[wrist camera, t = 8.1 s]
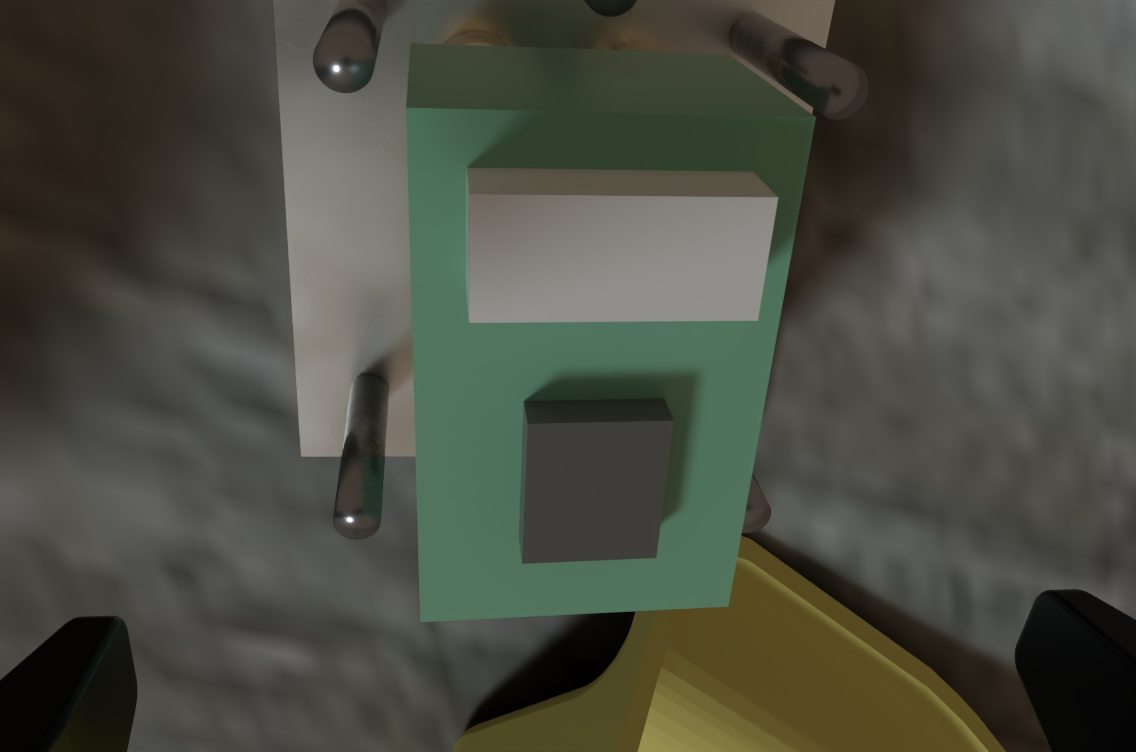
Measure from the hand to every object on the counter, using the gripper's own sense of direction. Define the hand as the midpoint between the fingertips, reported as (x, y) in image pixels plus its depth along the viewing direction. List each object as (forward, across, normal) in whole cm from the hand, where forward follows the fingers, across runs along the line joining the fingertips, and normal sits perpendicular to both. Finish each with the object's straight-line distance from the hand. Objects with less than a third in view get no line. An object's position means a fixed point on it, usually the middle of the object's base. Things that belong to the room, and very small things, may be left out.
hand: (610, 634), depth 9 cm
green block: (+9, -1, 0) cm, 9 cm away
